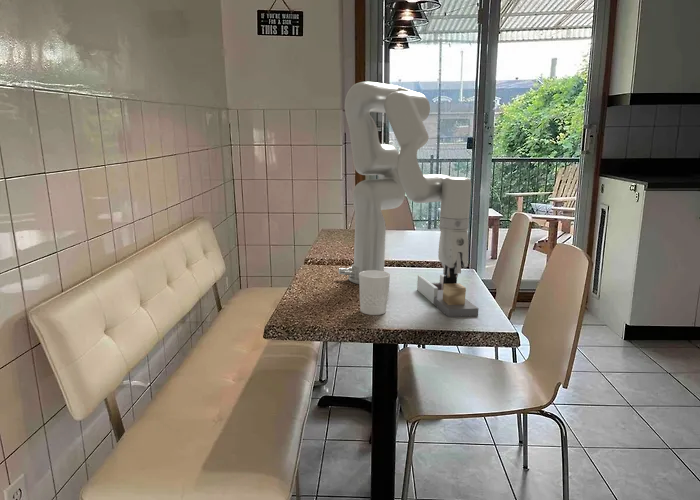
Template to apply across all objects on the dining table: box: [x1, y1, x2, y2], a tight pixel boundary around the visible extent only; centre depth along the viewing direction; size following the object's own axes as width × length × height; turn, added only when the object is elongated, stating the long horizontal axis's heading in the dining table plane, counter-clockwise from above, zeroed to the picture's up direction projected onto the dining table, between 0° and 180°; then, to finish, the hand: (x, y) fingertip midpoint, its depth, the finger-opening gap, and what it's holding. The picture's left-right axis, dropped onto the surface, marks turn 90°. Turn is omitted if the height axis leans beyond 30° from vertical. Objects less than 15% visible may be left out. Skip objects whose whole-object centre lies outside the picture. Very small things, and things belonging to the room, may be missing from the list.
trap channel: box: [416, 274, 479, 318], centre depth 149 cm, size 8×25×4 cm, turn 12°
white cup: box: [358, 270, 391, 316], centre depth 138 cm, size 8×8×10 cm
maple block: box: [443, 282, 467, 305], centre depth 142 cm, size 4×4×4 cm
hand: (449, 290), depth 146 cm, fingers closed
